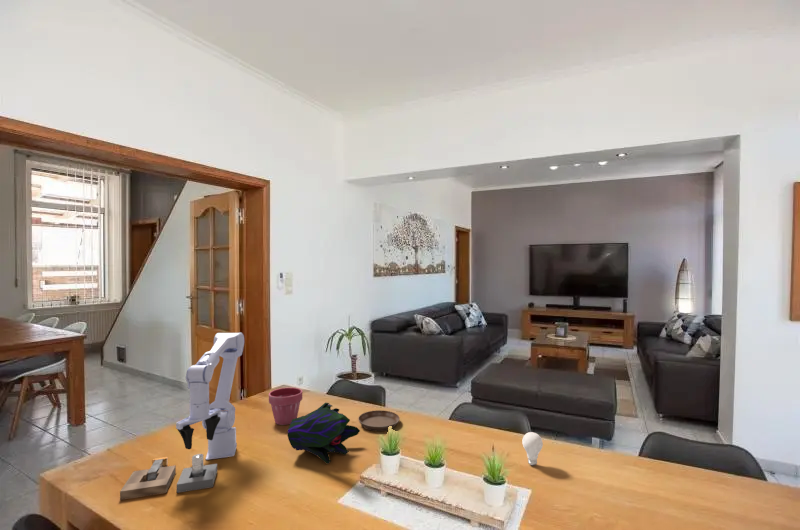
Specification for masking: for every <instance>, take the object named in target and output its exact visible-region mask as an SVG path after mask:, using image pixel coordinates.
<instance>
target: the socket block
mask: <svg viewBox="0 0 800 530" xmlns="http://www.w3.org/2000/svg"><path fill="white" fill-rule="evenodd" d="M149 470H150V468H149V469H141V470H134V471H132V473H131V475H130V476H129V478H128V479H127V480H126V482H125V484H124V485H123V486H122V488H121V490H119V500H120V501H123V500H127V499H128V500H129V499H136V498H141V497H142V498H143V497H149V496H156V495H160V494H166V493H167V492H168V490H169V488H170V486H171V483H172V482H173V479H174V477H175V475H176V473H177V472H176V470H177V469H176V465H169V466H168V465H167V466H164V467H161V468H160V469H159V471H158V472H157V478H156V480H152V481H148V471H149Z"/></svg>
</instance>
